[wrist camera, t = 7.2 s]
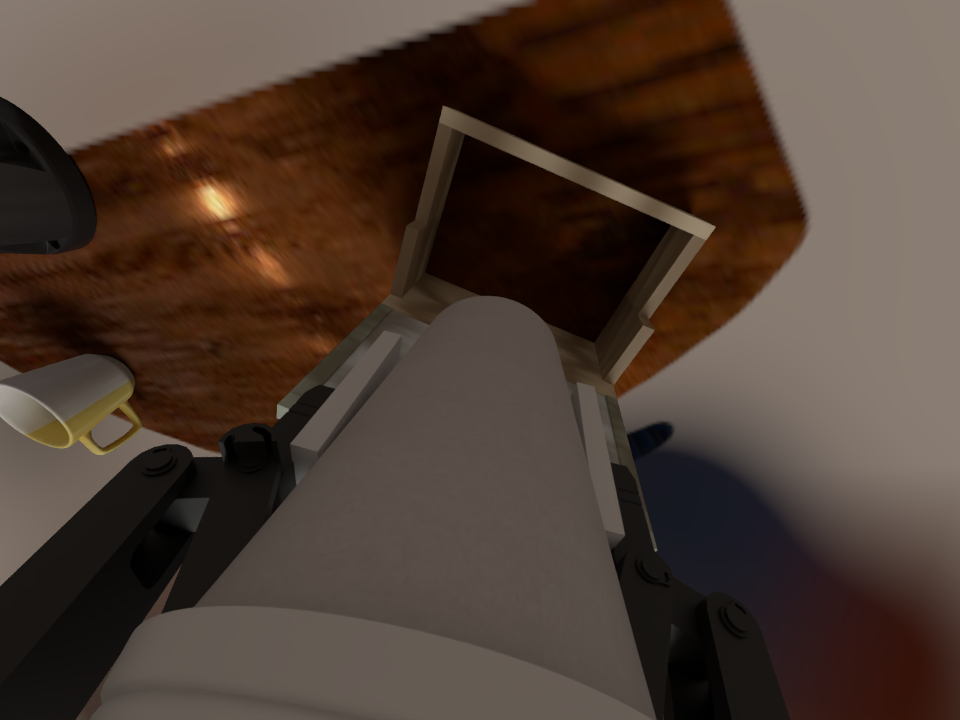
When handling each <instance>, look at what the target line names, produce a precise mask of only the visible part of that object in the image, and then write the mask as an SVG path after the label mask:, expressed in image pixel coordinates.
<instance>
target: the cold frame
mask: <svg viewBox="0 0 960 720" xmlns="http://www.w3.org/2000/svg"><path fill="white" fill-rule="evenodd" d="M465 134H467V135H469V136H471V137H474V138H476V139H478V140H480V141H483V142H485V143H487V144H489V145H492V146H494V147H496V148H498V149H501V150H503V151H505V152H507V153H510V154H512V155H514V156H517V157H519V158H521V159H523V160H526V161H528V162H530V163H532V164H535V165H537V166H539V167H541V168H544V169H546V170H548V171H550V172H553V173H555V174H557V175H560V176H562V177H564V178H566V179H569V180H571V181H573V182H575V183H578V184H580V185H582V186H584V187H587V188H589V189H591V190H594V191H596V192H598V193H600V194H603V195H605V196H607V197H609V198H612V199H614V200H616V201H618V202H621V203H623V204H625V205H627V206H630V207H632V208H634V209H637V210H639V211H641V212H643V213H646V214H648V215H650V216H652V217H655V218H657V219H659V220H661V221H664V222H666V223H668V224H670V225H671V226H670V228H669V229H668V231H667V232H666V234H665V235H664V237H663V239H662V240H661V242H660V243H659V245H658V246H657V248H656V249H655V251H654V252H653V254H652V255H651V257H650V258H649V260H648V261H647V263H646V265H645V266H644V268H643V269H642V271H641V272H640V274H639V275H638V277H637V278H636V280H635V281H634V283H633V284H632V286H631V287H630V289H629V291H628V292H627V294H626V295H625V297H624V298H623V300H622V301H621V303H620V304H619V306H618V307H617V309H616V310H615V312H614V313H613V315H612V317H611V318H610V320H609V321H608V323H607V324H606V326H605V327H604V329H603V330H602V332H601V333H600V335H599V336H598V338H597V339H596V341H595V343H593V342H591V341H588V340H586V339H584V338H581V337H579V336H576V335H574V334H572V333H569V332H567V331H564V330H562V329H560V328H557V327H555V326H552V325H550V324H547V323H546V324H547V326H548V327H549V329H550V330H551V332H552V334H553V336H554V339H555V341H556V345H557V348H558V352H559V356H560V360H561V364H562V368H563V371H564V375H565V379H566V383H567V387H568V391H569V395H570V396H571V394H572V392H573V390H574V388H575V385H576V383H577V382H579V383H583V384H586V385H590V386H594V387H595V390H596V395H597V400H598V405H599V410H600V415H601V420H602V425H603V430H604V434H605V439H606V444H607V449H608V454H609V459H610V462H612V463H616V464H619V465H623V466H627V468H628V469H629V471H630V472H631V474H632V475H633V477H634V478H635V480H636V483H637V487H638V491H639V496H640V498H641V502H642V507H643V509H644V513H645V517H646V521H647V524H648V528H649V532H650V536H651V539H652V543H653V547H654V550H655V551H657V548H656V543H655V540H654V536H653V533H652V528H651V525H650V521H649V518H648V514H647V510H646V506H645V502H644V499H643V495H642V491H641V487H640V484H639V480H638V476H637V473H636V469H635V465H634V461H633V457H632V454H631V450H630V446H629V442H628V439H627V435H626V431H625V427H624V424H623V420H622V416H621V412H620V409H619V405H618V401H617V397H616V394H615V390H614V386H613V385H614V384H615V382H616V381H617V380H618V378H619V377H620V376H621V374H622V373H623V372H624V370H625V369H626V368H627V366H628V365H629V364H630V362H631V361H632V360H633V358H634V357H635V356H636V354H637V353H638V352H639V350H640V349H641V348H642V346H643V345H644V344H645V342H646V341H647V340H648V338H649V337H650V336H651V334H652V333H653V332H654V328H653V326H652V325H651V323H650V321H649V318H650V317H651V315H652V314H653V313H654V311H655V310H656V309H657V307H658V306H659V304H660V303H661V302H662V300H663V299H664V298H665V296H666V295H667V293H668V292H669V291H670V289H671V288H672V287H673V285H674V284H675V282H676V281H677V280H678V278H679V277H680V276H681V274H682V273H683V271H684V270H685V269H686V267H687V266H688V265H689V263H690V262H691V260H692V259H693V258H694V256H695V255H696V253H697V252H698V251H699V249H700V248H701V247H702V245H703V244H704V242H705V241H706V240H707V238H708V237H709V236H710V234H711V233H712V231H713V230H714V229H715V226H713V225H711V224H709V223H707V222H705V221H703V220H701V219H699V218H697V217H695V216H694V215H692V214H689V213H687V212H685V211H683V210H680V209H678V208H676V207H674V206H671V205H669V204H667V203H665V202H662V201H660V200H658V199H656V198H653V197H651V196H649V195H647V194H644V193H642V192H640V191H638V190H635V189H633V188H631V187H629V186H626V185H624V184H622V183H620V182H617V181H615V180H613V179H611V178H608V177H606V176H604V175H602V174H599V173H597V172H595V171H593V170H590V169H588V168H586V167H584V166H581V165H579V164H577V163H575V162H572V161H570V160H568V159H566V158H563V157H561V156H559V155H557V154H554V153H552V152H550V151H548V150H546V149H543V148H541V147H539V146H537V145H534V144H532V143H530V142H528V141H525V140H523V139H521V138H519V137H516V136H514V135H512V134H510V133H507V132H505V131H503V130H501V129H498V128H496V127H494V126H492V125H489V124H487V123H485V122H483V121H480V120H478V119H476V118H474V117H471V116H469V115H467V114H465V113H462V112H460V111H458V110H455V109H452V108H449V107H445V106H443V108H442V112H441V116H440V120H439V124H438V128H437V132H436V136H435V141H434V145H433V149H432V153H431V157H430V161H429V165H428V169H427V173H426V177H425V181H424V185H423V189H422V193H421V197H420V201H419V205H418V209H417V213H416V217H415V221H413V222H411V223H410V224H408V225H406V230H405V234H404V238H403V242H402V247H401V251H400V255H399V259H398V263H397V268H396V272H395V276H394V280H393V285H392V289H391V293H390V295H389V296H388V297H387V298H386V299H385V300H384V301H383V302H382V303H381V304H380V305H379V306H377V307H376V308H375V309H374V310H373V311H372V312H371V313H370V314H369V315H368V316H367V317H366V318H365V319H364V320H363V321H362V322H361V323H360V324H359V325H358V326H357V327H356V328H355V329H354V330H353V331H352V332H351V333H350V334H349V335H348V336H347V337H346V338H345V339H344V340H343V341H342V342H341V343H340V344H339V345H338V346H337V347H336V348H335V349H333V350H332V351H331V352H330V353H329V354H328V355H327V356H326V357H325V358H324V359H323V360H322V361H321V362H320V363H319V364H318V365H317V366H316V367H315V368H314V369H313V370H312V371H311V372H310V373H309V374H308V375H307V376H306V377H305V378H304V379H303V380H302V381H301V382H300V383H299V384H298V385H297V386H296V387H295V388H294V389H293V390H292V391H290V392H289V393H288V394H287V395H286V396H285V397H284V398H283V399H282V400H281V401H280V402H279V403H278V404H277V418H278V419H281V417H282V416H283V415H284V414H285V413H286V412H288V411H289V409H290V408H291V407H292V406H293V405H294V404H296V401H297V400H298V399H299V398H300V397H301V396H302V395H303V394H304V393H305V392H306V391H308V390H310V389H312V388H314V387H315V386H317V385H319V384H320V385H324V386H327V387H331V388H335V389H336V388H337V387H338V386H339V384H340V383H341V382H342V381H343V380H344V378H345V377H346V376H347V375H348V374H349V372H350V371H351V370H352V369H353V368H354V366H355V365H356V364H357V363H358V361H359V360H360V359H361V358H362V357H363V355H364V354H365V353H366V352H367V351H368V349H369V348H370V347H371V346H372V345H373V343H374V342H375V341H376V340H377V339H378V337H379V336H380V335H381V334H382V333H383V331H384V330H385V331H388V332H392V333H396V334H399V335H402V337H401V346H400V356H399V362H400V360H401V359H402V358H403V357H404V356H405V354H406V353H407V352H408V351H409V349H410V348H411V347H412V346H413V345H414V343H415V342H416V341H417V340H418V339H419V337H420V336H421V335H422V334H423V332H424V331H425V330H426V329H427V328H428V326H429V325H430V324H431V323H432V322H433V320H434V319H435V318H436V317H437V316H438V315H439V314H440V313H441V312H442V311H443V310H444V309H446V308H447V307H449V306H450V305H452V304H454V303H456V302H458V301H461V300H463V299H467V298H471V297H476V296H480V295H478V294H475V293H473V292H470V291H468V290H466V289H463V288H461V287H458V286H456V285H454V284H451V283H449V282H446V281H444V280H442V279H439V278H437V277H434V276H432V275H430V274H427V273H425V272H426V268H427V265H428V261H429V258H430V254H431V251H432V247H433V244H434V240H435V237H436V233H437V230H438V226H439V223H440V219H441V216H442V212H443V209H444V205H445V202H446V198H447V195H448V191H449V188H450V184H451V181H452V177H453V174H454V170H455V167H456V163H457V160H458V156H459V153H460V149H461V146H462V142H463V139H464V135H465Z"/></svg>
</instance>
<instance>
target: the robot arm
mask: <svg viewBox="0 0 960 720" xmlns="http://www.w3.org/2000/svg"><path fill="white" fill-rule="evenodd" d="M95 229H96V215H95V209H94V205H93V201H92V198H91V195H90V193H89V190H88V188H87V186H86V184H85V182H84V180H83V178H82V176H81V174H80V173H79V171H78V169H77V168H76V166H75V165H74V163H73V162H72V160H71V159H70V157H69V156H68V155H67V153H66V152H65V151H64V150H63V148H62V147H61V146H60V145H59V144H58V142H57V141H56V140H55V139H54V138H53V137H52V136H51V135H50V134H49V133H48V132H47V131H46V130H45V129H44V128H43V127H42V126H41V125H40V124H39V123H38V122H37V121H35V120H34V119H33V118H32V117H31V116H30V115H28V114H27V113H25V112H24V111H23V110H22V109H20V108H19V107H17V106H16V105H14V104H13V103H11V102H9V101H8V100H6V99H4V98H2V97H0V253H15V254H45V255H50V254H59V253H63V252H68V251H72V250H76V249H80V248H83V247H84V246H86V245H87V244H88V243H89V242H90V241H91V240H92V238H93V236H94V233H95ZM401 337H402V335H399V334H396V333H392V332H388V331H385V330H384V331H383V333H382V334H381V335H380V336H379V337H378V339H377V340H376V341H375V342H374V343H373V345H372V346H371V347H370V348H369V349H368V351H367V352H366V353H365V354H364V355H363V357H362V358H361V359H360V360H359V361H358V363H357V364H356V365H355V366H354V368H353V369H352V370H351V371H350V372H349V374H348V375H347V376H346V377H345V378H344V380H343V381H342V382H341V383H340V384H339V386H338V387H337V388H336V389H335V388H331V387H327V386H324V385H320V384H319V385H317V386H315V387H314V388H312V389H310V390H308V391H306V392H305V393H304V394H303V395H302V396H301V397H300V398H299V399H298V400H297V401H296V404H294V405H293V406H292V407H291V408H290V409H289V411H288V412H286V413H285V414H284V415H283V416H282V417H281V419H280V420H279V421H278V422H277V423H276V424H275V425H274V426H273V427H270V426H268V425H266V424H259V423H251V424H244V425H241V426H238V427H236V428H233V429H231V430H230V431H228V432H227V433H226V434H224V435H223V436H222V438H221V439H220V440H219V442H218V444H219V447H220V451H221V454H222V457H193V455H192V453H191V451H190V450H189V449H188V448H187V447H184V446H181V445H178V444H175V445H174V444H172V445H171V444H167V445H162V446H158V447H154V448H151V449H149V450H147V451H145V452H142V453H141V454H139V455H138V456H137V457H135V458H134V459H133V460H131V461H130V462H129V463H128V464H127V465H126V466H125V467H124V468H123V469H122V470H121V471H120V472H119V473H118V474H117V475H116V476H115V477H114V478H113V479H111V480H110V481H109V482H108V483H107V484H106V485H105V486H104V487H103V488H102V489H101V490H100V491H99V492H98V493H97V494H96V495H95V496H94V497H93V498H92V499H91V500H90V501H89V502H88V503H87V504H85V506H83V507H82V508H81V509H80V510H79V511H78V512H77V513H76V514H75V515H74V516H73V517H72V518H71V519H70V520H69V521H68V522H67V523H66V524H65V525H64V526H63V527H61V528H60V529H59V530H58V531H57V532H56V533H55V534H54V535H53V536H52V537H51V538H50V539H49V540H48V541H47V542H46V543H45V544H44V545H43V546H42V547H41V548H40V549H39V550H38V551H37V552H35V553H34V554H33V555H32V556H31V557H30V558H29V559H28V560H27V561H26V562H25V563H24V564H23V565H22V566H21V567H20V568H19V569H18V570H17V571H16V572H15V573H14V574H13V575H12V576H11V577H9V578H8V579H7V580H6V581H5V582H4V583H3V584H2V585H1V586H0V720H76V718H77V717H78V715H79V714H80V712H81V711H82V709H83V708H84V707H85V705H86V704H87V702H88V701H89V699H90V698H91V696H92V695H93V693H94V692H95V690H96V689H97V688H98V686H99V685H100V683H101V682H102V680H103V679H104V677H105V676H106V674H107V673H108V671H109V670H110V668H111V667H112V666H113V664H114V663H115V661H116V660H117V658H118V657H119V655H120V654H121V652H122V651H123V649H124V647H125V645H126V644H127V642H128V640H129V638H130V636H131V635H132V633H133V632H134V630H135V629H136V628H137V627H138V626H139V625H140V624H141V623H142V622H143V620H144V619H145V617H146V616H147V614H148V613H149V611H150V610H151V608H152V607H153V605H154V604H155V602H156V601H157V600H158V598H159V597H160V595H161V594H162V592H163V591H164V589H165V588H166V586H167V585H168V583H169V582H170V580H171V579H172V577H173V576H174V575H175V573H176V572H177V570H178V569H179V567H180V566H181V568H180V570H179V573H178V575H177V577H176V580H175V582H174V585H173V587H172V589H171V592H170V594H169V597H168V599H167V601H166V604H165V606H164V609H163V611H162V613H161V614H163V613H166V612H170V611H175V610H180V609H186V608H193V607H194V606H195V605H196V604H197V603H198V602H199V600H200V599H201V598H202V597H203V596H204V595H205V593H206V592H207V591H208V590H209V589H210V588H211V586H212V585H213V584H214V583H215V582H216V581H217V579H218V578H219V577H220V576H221V575H222V573H223V572H224V571H225V570H226V569H227V568H228V566H229V565H230V564H231V563H232V562H233V561H234V559H235V558H236V557H237V556H238V555H239V553H240V552H241V551H242V550H243V549H244V548H245V546H246V545H247V544H248V543H249V542H250V540H251V539H252V538H253V537H254V536H255V535H256V533H257V532H258V531H259V530H260V529H261V527H262V526H263V525H264V524H265V523H266V521H267V520H268V519H269V518H270V517H271V516H272V514H273V513H274V512H275V511H276V510H277V508H278V507H279V506H280V505H281V504H282V502H283V501H284V500H285V499H286V498H287V496H288V495H289V494H290V493H291V492H292V490H293V489H294V488H295V487H296V486H297V485H298V483H299V482H300V481H301V480H302V479H303V477H304V476H305V475H306V474H307V473H308V471H309V470H310V469H311V468H312V467H313V465H314V464H315V463H316V462H317V461H318V459H319V458H320V457H321V456H322V455H323V453H324V452H325V451H326V450H327V449H328V447H329V446H330V445H331V444H332V443H333V441H334V440H335V439H336V438H337V437H338V435H339V434H340V433H341V432H342V431H343V429H344V428H345V427H346V426H347V425H348V423H349V422H350V421H351V420H352V418H353V417H354V416H355V415H356V414H357V412H358V411H359V410H360V409H361V408H362V406H363V405H364V404H365V403H366V402H367V400H368V399H369V398H370V397H371V396H372V394H373V393H374V392H375V391H376V389H377V388H378V387H379V386H380V385H381V383H382V382H383V381H384V380H385V379H386V377H387V376H388V375H389V374H390V373H391V371H392V370H393V369H394V368H395V366H396V365H397V364H398V363H399V356H400V346H401ZM570 398H571V402H572V406H573V410H574V414H575V418H576V421H577V425H578V429H579V433H580V437H581V441H582V444H583V448H584V452H585V456H586V460H587V464H588V467H589V471H590V475H591V479H592V483H593V486H594V490H595V494H596V498H597V502H598V505H599V509H600V513H601V517H602V520H603V524H604V528H605V532H606V536H607V539H608V543H609V547H610V551H611V554H612V558H613V562H614V565H615V569H616V573H617V577H618V580H619V584H620V588H621V592H622V595H623V599H624V603H625V606H626V610H627V614H628V617H629V621H630V625H631V628H632V632H633V636H634V639H635V643H636V647H637V651H638V654H639V658H640V661H641V665H642V669H643V672H644V676H645V680H646V683H647V687H648V690H649V694H650V698H651V701H652V705H653V709H654V712H655V716H656V719H657V720H663V713H664V720H790V718H789V715H788V711H787V708H786V705H785V702H784V699H783V696H782V693H781V690H780V687H779V684H778V681H777V678H776V675H775V672H774V669H773V666H772V663H771V660H770V657H769V653H768V650H767V647H766V645H765V641H764V638H763V635H762V632H761V630H760V628H759V626H758V624H757V622H756V620H755V619H754V617H753V616H752V615H751V613H750V612H749V611H748V609H747V608H745V606H743V605H742V604H741V603H740V602H739V601H738V600H737V599H735V598H733V597H732V596H730V595H728V594H726V593H722V592H714V593H711V594H709V595H708V596H707V597H705V596H704V595H702V594H700V593H699V592H697V591H695V590H693V589H692V588H690V587H688V586H687V585H685V584H683V583H682V582H680V581H679V580H677V579H676V578H674V576H673V574H672V572H671V570H670V568H669V566H668V565H667V564H666V562H665V561H664V560H663V559H662V558H661V557H660V556H659V555H658V554H656V553H655V550H654V547H653V543H652V539H651V536H650V532H649V528H648V524H647V521H646V517H645V513H644V509H643V507H642V502H641V498H640V496H639V491H638V487H637V483H636V480H635V478H634V477H633V475H632V474H631V472H630V471H629V469H628V468H627V466H623V465H619V464H616V463H612V462H610V459H609V454H608V449H607V444H606V439H605V434H604V430H603V425H602V420H601V415H600V410H599V405H598V400H597V395H596V390H595V387H594V386H590V385H586V384H583V383H579V382H577V383H576V385H575V388H574V390H573V392H572V394H571V396H570ZM181 564H182V565H181Z"/></svg>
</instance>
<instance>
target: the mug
mask: <svg viewBox="0 0 960 720" xmlns="http://www.w3.org/2000/svg"><path fill="white" fill-rule="evenodd" d="M134 385H135V379H134V376H133V374H132V373H131V371H130V370H129V369H128V368H127V367H126V366H125V365H124V364H123V363H121V362H120V361H118V360H117V359H115V358H112V357H110V356H106V355H96V354H84V355H80V356H77V357H74V358H71V359H68V360H65V361H62V362H58V363H55V364H52V365H48V366H45V367H42V368H39V369H36V370H32V371H29V372H26V373H23V374H20V375H16V376H13V377H10V378H7V379H4V380H1V381H0V417H1V418H2V419H4V420H5V421H6V422H7V423H8V424H10V425H11V426H12V427H13V428H15V429H16V430H18V431H19V432H21V433H22V434H24V435H26V436H27V437H29V438H31V439H33V440H35V441H37V442H39V443H42V444H45V445H47V446H51V447H55V448H66V447H69V446H71V445H72V444H73V443H75V442H76V441H77V440H78V439H79V440H80V441H81V442H82V443H83V444H84V445H85V446H86V447H87V448H88V449H89V450H91V451H92V452H93V453H94V454H97V455H103V454H106V453H108V452H110V451H112V450H114V449H116V448H117V447H119V446H120V445H122V444H123V443H125V442H126V441H127V440H129V439H130V438H131V437H132V436H134V435H135V434H136V433H137V432H138V431H139V430H140V429H141V427H142V421H141V419H140V418H139V416H138V415H137V414H136V412H135V411H134V410H133V408H132V407H131V406H130V404H129V403H128V401H127V400H128V399H129V398H130V397H131V395H132V393H133V390H134ZM117 407H119V408H120V409H121V410H122V411H123V412H124V413H125V414H126V415H127V416H128V417H129V419H130V420H131V421H132V423H133V427H132V428H131V430H130V431H129V432H127V433H126V434H125V435H124V436H122V437H121V438H119V439H118V440H116V441H115V442H113V443H111V444H110V445H108V446H106V447H104V448H102V447H100V446H98V445H97V444H96V443H95V442H94V440H93V439H92V437H91V429H92V428H93V427H94V426H96V425H97V424H98V423H99V422H100V421H102V420H103V419H104V418H105V417H106V416H108V415H109V414H110V413H111V412H113V411H114V410H115V409H116V408H117Z"/></svg>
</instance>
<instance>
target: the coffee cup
mask: <svg viewBox="0 0 960 720" xmlns="http://www.w3.org/2000/svg"><path fill="white" fill-rule="evenodd" d="M101 703H102V705H101V706H100V707H99V708H98V709H97V711H96V712H95V713H94V714H93V715H92V717H91V719H90V720H657V719H656V716H655V712H654V709H653V705H652V701H651V698H650V694H649V690H648V687H647V683H646V680H645V676H644V672H643V669H642V665H641V661H640V658H639V654H638V651H637V647H636V643H635V639H634V636H633V632H632V628H631V625H630V621H629V617H628V614H627V610H626V606H625V603H624V599H623V595H622V592H621V588H620V584H619V580H618V577H617V573H616V569H615V565H614V562H613V558H612V554H611V551H610V547H609V543H608V539H607V536H606V532H605V528H604V524H603V520H602V517H601V513H600V509H599V505H598V502H597V498H596V494H595V490H594V486H593V483H592V479H591V475H590V471H589V467H588V464H587V460H586V456H585V452H584V448H583V444H582V441H581V437H580V433H579V429H578V425H577V421H576V418H575V414H574V410H573V406H572V402H571V398H570V395H569V391H568V387H567V383H566V379H565V375H564V371H563V368H562V364H561V360H560V356H559V352H558V348H557V345H556V341H555V339H554V336H553V334H552V332H551V330H550V329H549V327H548V326H547V324H546V323H545V322H544V321H543V320H542V319H541V318H540V317H539V316H538V315H537V314H536V313H535V312H533V311H532V310H531V309H529V308H528V307H526V306H524V305H522V304H520V303H518V302H516V301H513V300H510V299H507V298H503V297H497V296H476V297H471V298H467V299H463V300H461V301H458V302H456V303H454V304H452V305H450V306H449V307H447V308H446V309H444V310H443V311H442V312H441V313H440V314H439V315H438V316H437V317H436V318H435V319H434V320H433V322H432V323H431V324H430V325H429V326H428V328H427V329H426V330H425V331H424V332H423V334H422V335H421V336H420V337H419V339H418V340H417V341H416V342H415V343H414V345H413V346H412V347H411V348H410V349H409V351H408V352H407V353H406V354H405V356H404V357H403V358H402V359H401V360H400V362H399V363H398V364H397V365H396V366H395V368H394V369H393V370H392V371H391V373H390V374H389V375H388V376H387V377H386V379H385V380H384V381H383V382H382V383H381V385H380V386H379V387H378V388H377V389H376V391H375V392H374V393H373V394H372V396H371V397H370V398H369V399H368V400H367V402H366V403H365V404H364V405H363V406H362V408H361V409H360V410H359V411H358V412H357V414H356V415H355V416H354V417H353V418H352V420H351V421H350V422H349V423H348V425H347V426H346V427H345V428H344V429H343V431H342V432H341V433H340V434H339V435H338V437H337V438H336V439H335V440H334V441H333V443H332V444H331V445H330V446H329V447H328V449H327V450H326V451H325V452H324V453H323V455H322V456H321V457H320V458H319V459H318V461H317V462H316V463H315V464H314V465H313V467H312V468H311V469H310V470H309V471H308V473H307V474H306V475H305V476H304V477H303V479H302V480H301V481H300V482H299V483H298V485H297V486H296V487H295V488H294V489H293V490H292V492H291V493H290V494H289V495H288V496H287V498H286V499H285V500H284V501H283V502H282V504H281V505H280V506H279V507H278V508H277V510H276V511H275V512H274V513H273V514H272V516H271V517H270V518H269V519H268V520H267V521H266V523H265V524H264V525H263V526H262V527H261V529H260V530H259V531H258V532H257V533H256V535H255V536H254V537H253V538H252V539H251V540H250V542H249V543H248V544H247V545H246V546H245V548H244V549H243V550H242V551H241V552H240V553H239V555H238V556H237V557H236V558H235V559H234V561H233V562H232V563H231V564H230V565H229V566H228V568H227V569H226V570H225V571H224V572H223V573H222V575H221V576H220V577H219V578H218V579H217V581H216V582H215V583H214V584H213V585H212V586H211V588H210V589H209V590H208V591H207V592H206V593H205V595H204V596H203V597H202V598H201V599H200V600H199V602H198V603H197V604H196V605H195V606H194V607H193V608H186V609H180V610H175V611H170V612H166V613H163V614H160V615H157V616H154V617H152V618H150V619H148V620H146V621H145V622H143V623H141V624H140V625H139V626H138V627H137V628H136V629H135V630H134V632H133V633H132V635H131V636H130V638H129V640H128V642H127V644H126V645H125V647H124V649H123V651H122V653H121V655H120V656H119V658H118V660H117V662H116V663H115V665H114V667H113V669H112V671H111V672H110V674H109V676H108V678H107V680H106V682H105V684H104V686H103V688H102V691H101Z"/></svg>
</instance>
